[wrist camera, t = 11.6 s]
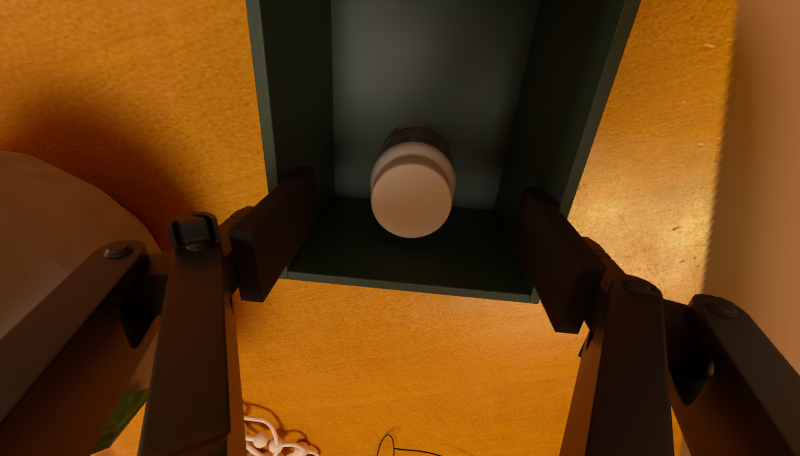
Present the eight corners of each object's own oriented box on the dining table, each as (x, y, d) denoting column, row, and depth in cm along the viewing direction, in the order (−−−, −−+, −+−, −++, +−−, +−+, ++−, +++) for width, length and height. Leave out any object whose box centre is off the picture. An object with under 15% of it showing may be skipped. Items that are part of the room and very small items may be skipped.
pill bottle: (380, 120, 23) (358, 154, 15) (450, 120, 22) (463, 154, 15) (383, 187, 25) (365, 244, 18) (447, 187, 25) (457, 246, 17)
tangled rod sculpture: (342, 426, 42) (337, 461, 38) (298, 487, 47) (289, 523, 43) (185, 370, 38) (161, 403, 34) (156, 443, 43) (132, 479, 39)
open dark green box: (323, -45, 19) (228, -135, 10) (553, -28, 19) (677, -104, 10) (330, 198, 26) (278, 278, 17) (497, 213, 26) (538, 304, 17)
